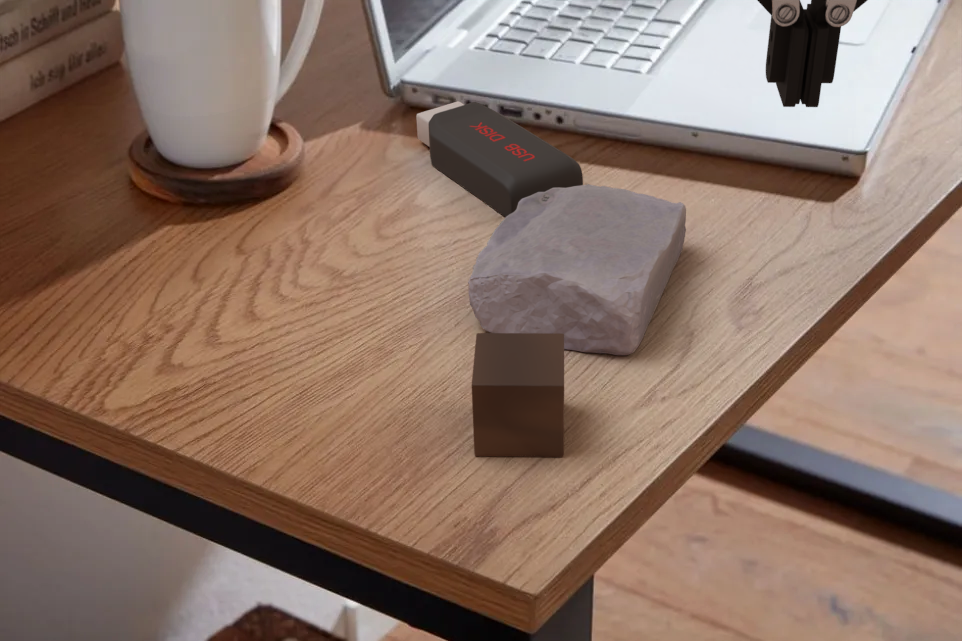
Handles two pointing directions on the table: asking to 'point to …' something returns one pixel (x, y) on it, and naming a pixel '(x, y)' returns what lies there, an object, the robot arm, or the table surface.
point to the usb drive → (493, 155)
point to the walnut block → (518, 394)
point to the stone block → (579, 266)
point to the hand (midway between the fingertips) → (796, 94)
